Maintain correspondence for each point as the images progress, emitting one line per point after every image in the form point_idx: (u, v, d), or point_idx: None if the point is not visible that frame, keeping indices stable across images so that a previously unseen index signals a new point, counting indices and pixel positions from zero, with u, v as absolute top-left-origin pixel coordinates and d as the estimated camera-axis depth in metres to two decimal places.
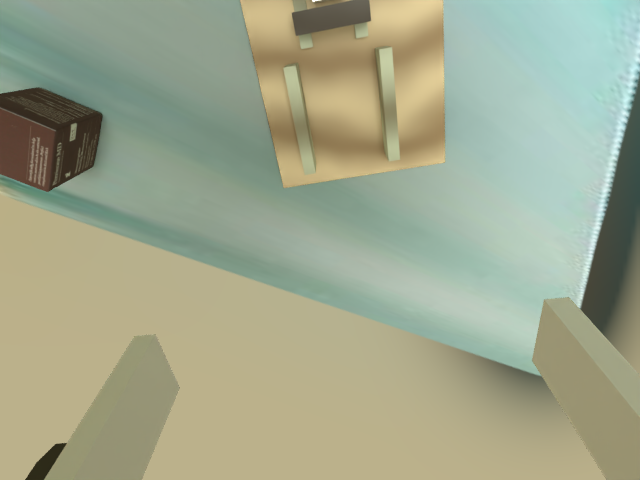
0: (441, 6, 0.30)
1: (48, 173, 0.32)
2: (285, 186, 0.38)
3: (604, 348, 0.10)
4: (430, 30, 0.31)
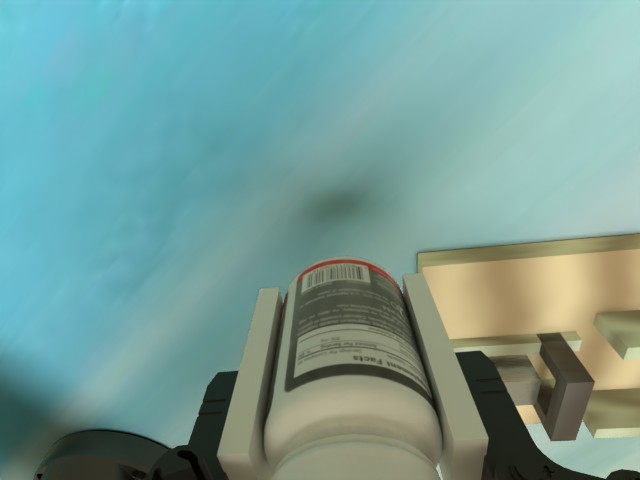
0: (577, 256, 0.22)
1: None
2: None
3: (430, 311, 0.12)
4: (601, 266, 0.22)
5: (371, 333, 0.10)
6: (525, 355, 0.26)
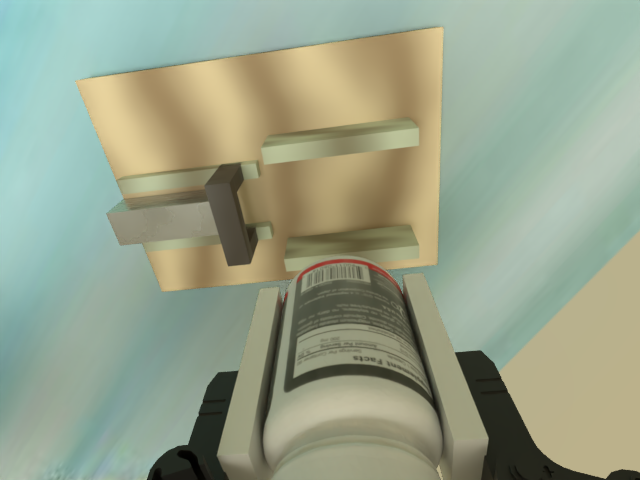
0: (218, 62, 0.22)
1: None
2: (435, 262, 0.29)
3: (430, 311, 0.12)
4: (247, 74, 0.22)
5: (371, 333, 0.10)
6: None
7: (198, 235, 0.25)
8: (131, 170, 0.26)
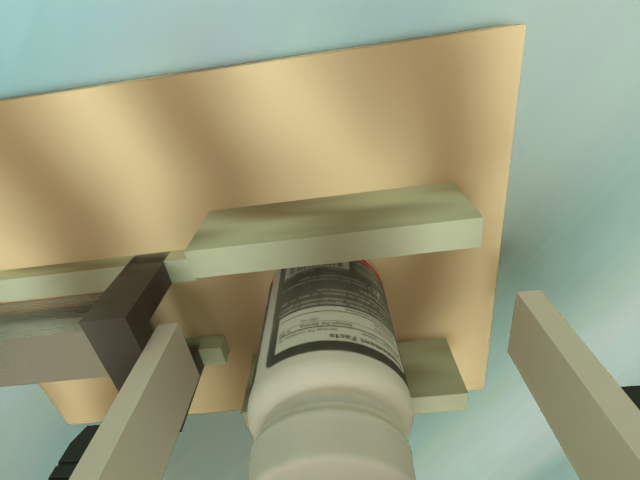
0: (108, 90, 0.12)
1: None
2: (481, 386, 0.19)
3: (569, 337, 0.10)
4: (163, 112, 0.12)
5: (347, 314, 0.11)
6: None
7: (96, 376, 0.15)
8: None
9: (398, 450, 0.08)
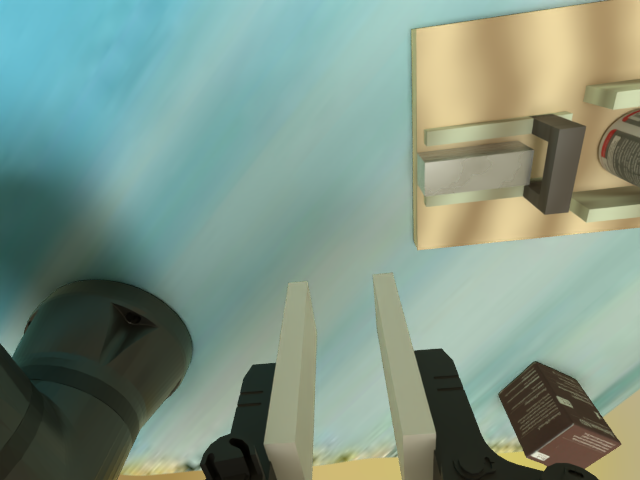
0: (566, 9, 0.23)
1: (606, 438, 0.34)
2: None
3: (394, 310, 0.12)
4: (590, 22, 0.23)
5: None
6: (518, 141, 0.26)
7: (507, 185, 0.26)
8: (436, 122, 0.26)
9: None
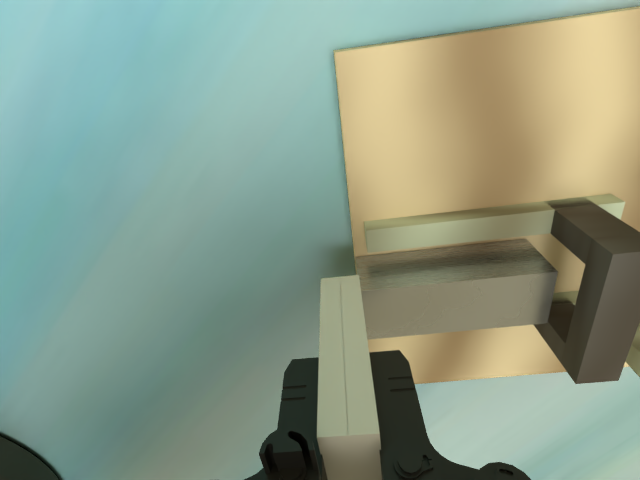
0: (623, 15, 0.12)
1: None
2: None
3: (356, 312, 0.13)
4: None
5: None
6: (527, 242, 0.15)
7: (508, 324, 0.14)
8: (384, 211, 0.15)
9: None
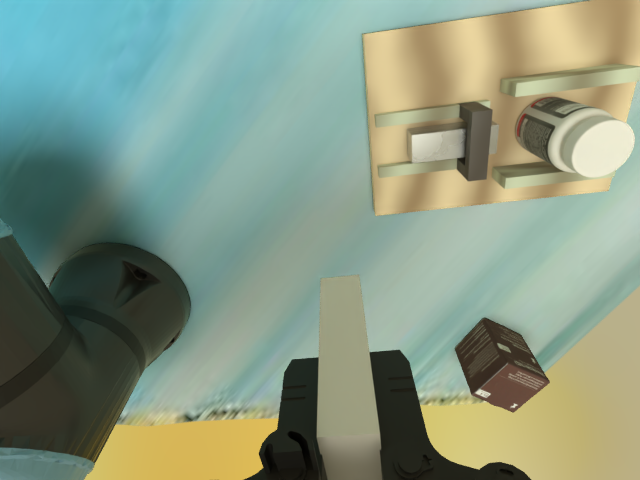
0: (479, 19, 0.29)
1: (536, 377, 0.40)
2: (607, 188, 0.35)
3: (356, 312, 0.13)
4: (498, 29, 0.29)
5: (586, 105, 0.28)
6: None
7: None
8: (384, 108, 0.32)
9: None
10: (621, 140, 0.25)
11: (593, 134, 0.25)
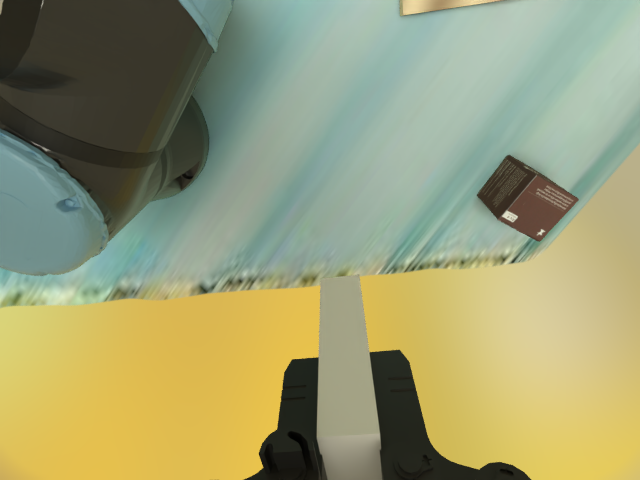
0: None
1: (565, 192, 0.39)
2: None
3: (356, 312, 0.13)
4: None
5: None
6: None
7: None
8: None
9: None
10: None
11: None
